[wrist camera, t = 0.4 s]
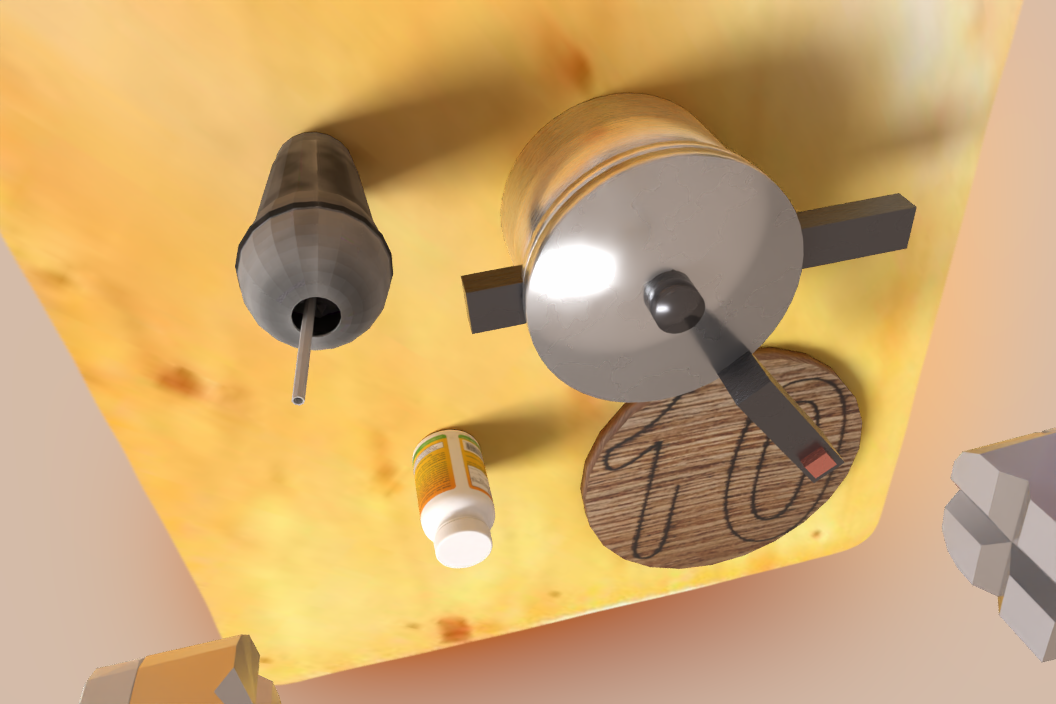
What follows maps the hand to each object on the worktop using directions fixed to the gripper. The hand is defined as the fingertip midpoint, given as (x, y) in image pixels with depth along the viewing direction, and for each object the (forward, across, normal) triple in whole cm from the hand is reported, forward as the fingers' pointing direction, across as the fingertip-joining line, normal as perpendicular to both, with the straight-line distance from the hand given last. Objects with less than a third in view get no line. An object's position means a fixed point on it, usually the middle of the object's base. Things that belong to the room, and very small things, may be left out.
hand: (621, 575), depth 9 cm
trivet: (+46, -20, +41) cm, 65 cm away
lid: (+33, -14, +19) cm, 41 cm away
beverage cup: (+42, +6, +8) cm, 43 cm away
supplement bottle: (+45, +3, +32) cm, 55 cm away
